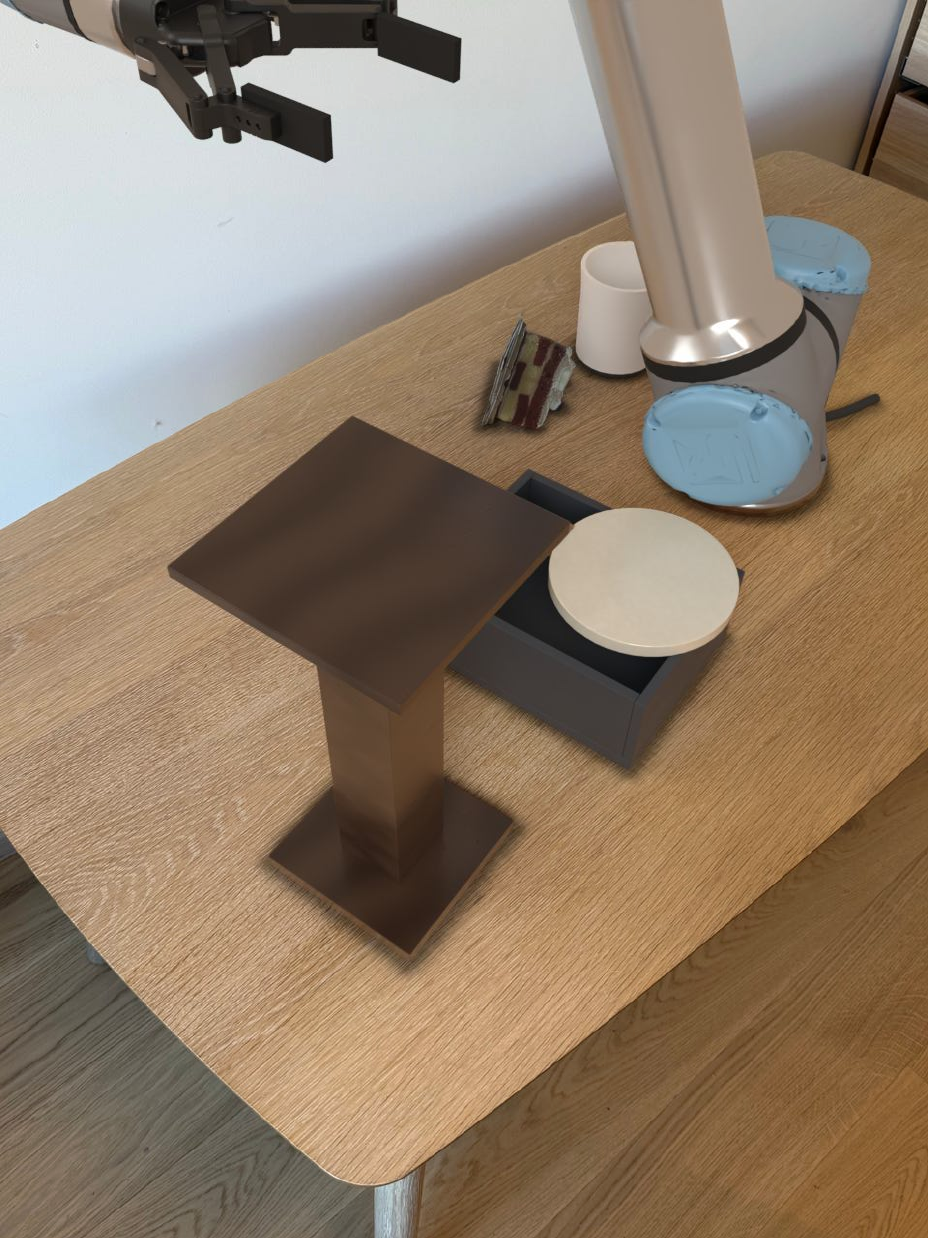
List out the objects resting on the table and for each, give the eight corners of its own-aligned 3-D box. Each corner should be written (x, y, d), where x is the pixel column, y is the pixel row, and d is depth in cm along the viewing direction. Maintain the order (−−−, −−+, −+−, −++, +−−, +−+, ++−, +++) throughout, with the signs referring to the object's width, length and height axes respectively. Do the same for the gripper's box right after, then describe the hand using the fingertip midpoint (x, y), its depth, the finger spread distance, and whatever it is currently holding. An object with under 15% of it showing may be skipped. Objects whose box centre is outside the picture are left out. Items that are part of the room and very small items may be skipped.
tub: (415, 649, 88) (413, 581, 82) (522, 536, 96) (528, 467, 90) (629, 771, 81) (644, 707, 74) (724, 638, 89) (745, 571, 83)
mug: (654, 386, 110) (670, 296, 102) (566, 375, 111) (576, 286, 103) (660, 324, 117) (676, 235, 109) (578, 314, 118) (587, 226, 110)
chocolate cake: (550, 452, 104) (597, 330, 103) (481, 425, 103) (527, 302, 102) (538, 453, 113) (580, 342, 112) (474, 428, 113) (516, 316, 111)
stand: (249, 867, 75) (166, 566, 52) (376, 730, 83) (352, 414, 60) (413, 984, 70) (400, 706, 47) (532, 826, 77) (571, 521, 55)
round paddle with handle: (411, 551, 84) (411, 540, 83) (509, 451, 91) (510, 440, 90) (684, 688, 76) (687, 678, 75) (766, 566, 83) (770, 555, 82)
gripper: (277, 6, 87) (500, 86, 79) (29, 126, 73) (271, 236, 66) (267, -103, 81) (508, -26, 74) (-4, 6, 67) (258, 112, 60)
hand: (397, 98), depth 70 cm, fingers open, 13 cm apart
